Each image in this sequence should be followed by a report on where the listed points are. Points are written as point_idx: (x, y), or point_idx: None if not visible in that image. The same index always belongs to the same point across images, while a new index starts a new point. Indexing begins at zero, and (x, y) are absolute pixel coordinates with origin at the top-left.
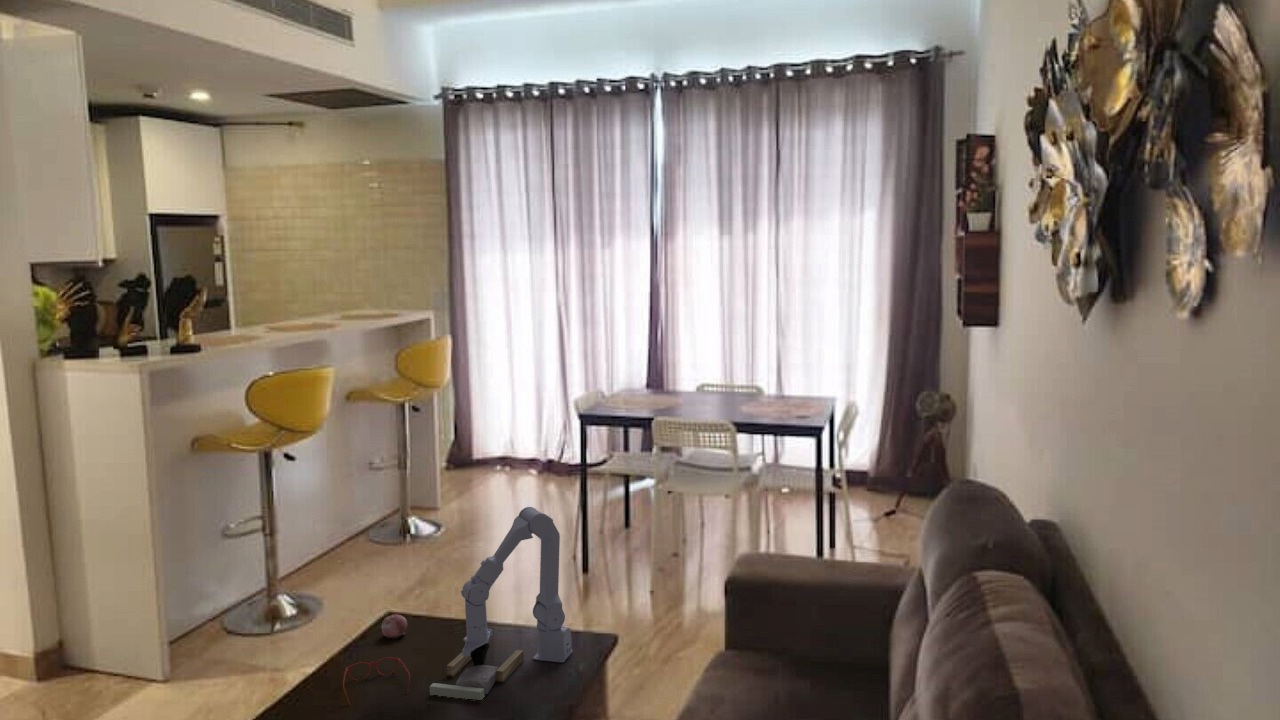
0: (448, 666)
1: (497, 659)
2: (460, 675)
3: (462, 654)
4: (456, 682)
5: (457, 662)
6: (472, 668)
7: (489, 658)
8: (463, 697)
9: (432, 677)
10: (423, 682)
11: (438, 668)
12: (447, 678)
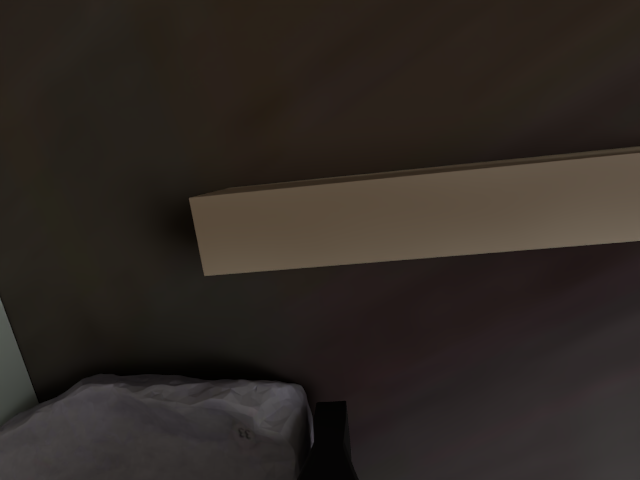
0: (196, 216)
1: (608, 402)
2: (130, 395)
3: (514, 205)
4: (4, 436)
5: (299, 267)
6: (247, 452)
7: (620, 339)
8: None
9: (155, 73)
10: (47, 53)
11: (328, 5)
12: None
